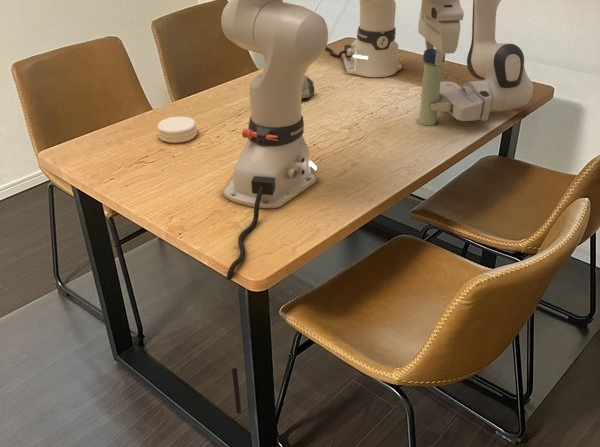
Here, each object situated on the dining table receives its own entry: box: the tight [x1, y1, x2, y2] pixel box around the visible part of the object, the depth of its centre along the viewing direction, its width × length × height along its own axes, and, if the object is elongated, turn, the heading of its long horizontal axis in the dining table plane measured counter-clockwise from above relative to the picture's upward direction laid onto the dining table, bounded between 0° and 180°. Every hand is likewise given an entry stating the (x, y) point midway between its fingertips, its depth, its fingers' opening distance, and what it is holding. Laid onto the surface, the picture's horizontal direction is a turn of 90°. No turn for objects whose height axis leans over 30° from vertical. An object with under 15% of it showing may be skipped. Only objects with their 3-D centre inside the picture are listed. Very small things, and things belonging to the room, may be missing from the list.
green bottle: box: [418, 62, 443, 126], centre depth 164 cm, size 5×5×18 cm
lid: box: [422, 48, 446, 64], centre depth 159 cm, size 5×6×2 cm
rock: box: [301, 75, 315, 100], centre depth 186 cm, size 15×10×7 cm
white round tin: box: [156, 116, 198, 144], centre depth 162 cm, size 10×10×4 cm
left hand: (433, 60), depth 160 cm, fingers closed on lid, 5 cm apart
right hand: (426, 102), depth 166 cm, fingers closed on green bottle, 4 cm apart
